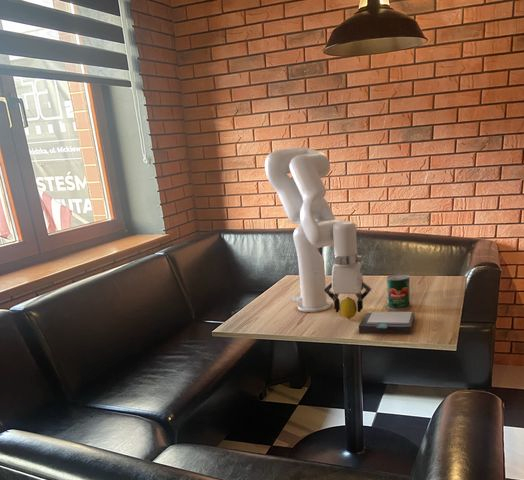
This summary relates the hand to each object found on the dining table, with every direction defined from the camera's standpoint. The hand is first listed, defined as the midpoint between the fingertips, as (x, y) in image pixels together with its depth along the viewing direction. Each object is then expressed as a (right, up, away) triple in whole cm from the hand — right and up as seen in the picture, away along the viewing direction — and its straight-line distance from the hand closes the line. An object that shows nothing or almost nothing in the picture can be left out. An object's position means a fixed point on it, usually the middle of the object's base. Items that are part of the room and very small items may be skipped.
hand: (348, 310), depth 184 cm
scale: (+11, -6, -11) cm, 17 cm away
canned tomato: (+19, +2, +9) cm, 21 cm away
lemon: (0, -3, +1) cm, 3 cm away
